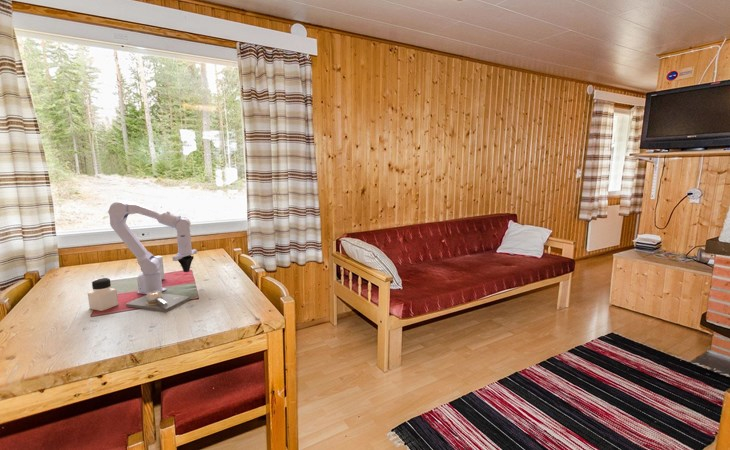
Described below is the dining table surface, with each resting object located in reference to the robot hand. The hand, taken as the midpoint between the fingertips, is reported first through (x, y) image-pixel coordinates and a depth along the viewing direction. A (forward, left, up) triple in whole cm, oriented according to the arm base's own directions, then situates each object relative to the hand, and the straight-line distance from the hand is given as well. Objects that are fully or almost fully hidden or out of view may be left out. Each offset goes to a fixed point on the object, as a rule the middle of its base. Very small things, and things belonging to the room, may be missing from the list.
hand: (186, 271), depth 169 cm
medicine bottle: (-17, -28, -9) cm, 34 cm away
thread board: (+1, -18, -8) cm, 20 cm away
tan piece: (+5, -22, -7) cm, 23 cm away
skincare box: (-24, +6, -9) cm, 26 cm away
